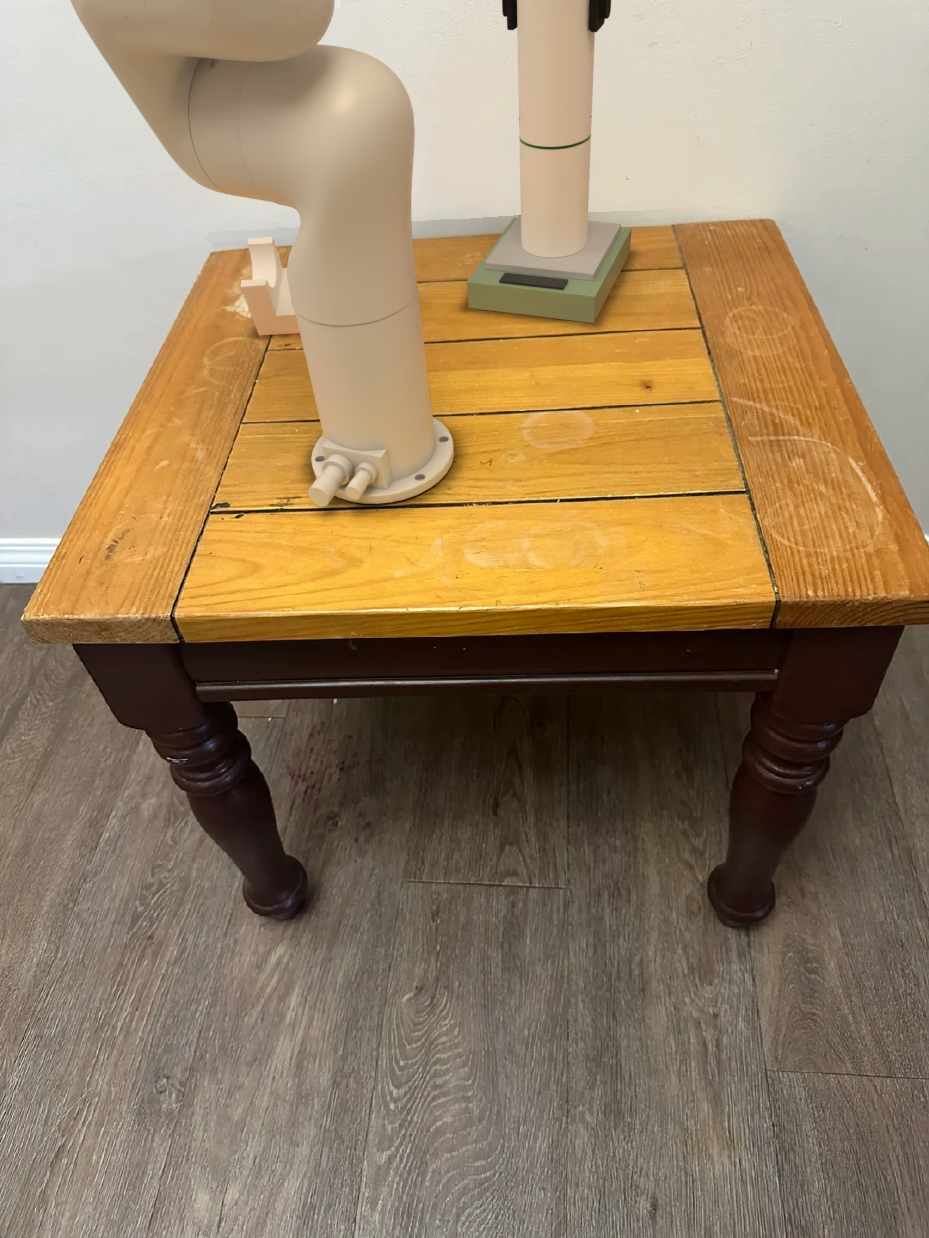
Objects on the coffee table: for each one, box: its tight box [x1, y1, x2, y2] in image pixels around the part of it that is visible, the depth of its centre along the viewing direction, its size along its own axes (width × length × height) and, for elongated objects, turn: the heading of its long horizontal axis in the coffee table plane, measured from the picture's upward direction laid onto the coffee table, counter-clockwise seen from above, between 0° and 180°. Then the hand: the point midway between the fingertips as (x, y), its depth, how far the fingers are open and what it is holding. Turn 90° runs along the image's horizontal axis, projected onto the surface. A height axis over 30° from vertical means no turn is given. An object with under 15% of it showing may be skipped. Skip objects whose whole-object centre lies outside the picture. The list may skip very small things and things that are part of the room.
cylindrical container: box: [516, 0, 596, 258], centre depth 85 cm, size 7×7×25 cm
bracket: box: [239, 236, 300, 336], centre depth 92 cm, size 13×7×8 cm, turn 89°
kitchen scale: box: [466, 214, 633, 324], centre depth 95 cm, size 16×14×4 cm
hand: (555, 25), depth 80 cm, fingers closed on cylindrical container, 7 cm apart
